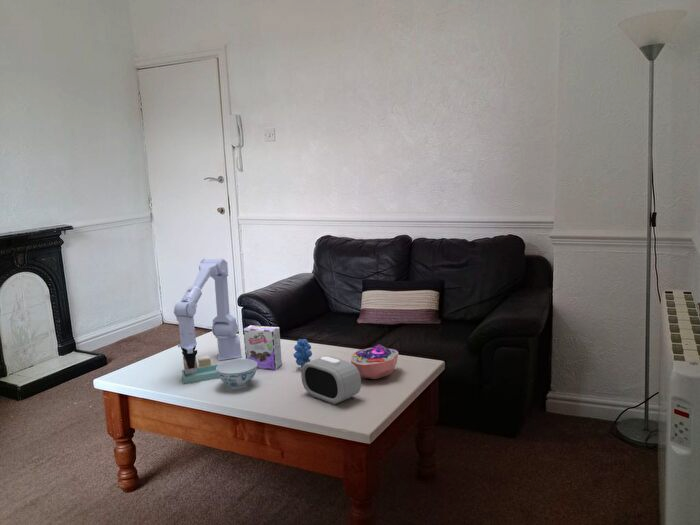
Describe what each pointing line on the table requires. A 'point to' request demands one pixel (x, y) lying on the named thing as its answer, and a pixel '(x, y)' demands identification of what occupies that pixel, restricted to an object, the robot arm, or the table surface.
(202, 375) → the tray
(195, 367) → the tin
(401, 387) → the table surface
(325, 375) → the alarm clock
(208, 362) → the carton
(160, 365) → the table surface
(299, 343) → the grapes
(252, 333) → the candy box
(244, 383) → the chinaware
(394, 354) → the cell model
